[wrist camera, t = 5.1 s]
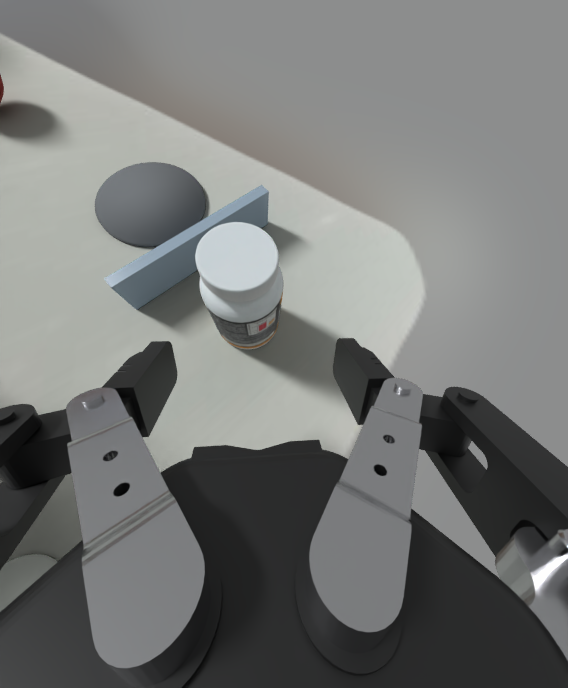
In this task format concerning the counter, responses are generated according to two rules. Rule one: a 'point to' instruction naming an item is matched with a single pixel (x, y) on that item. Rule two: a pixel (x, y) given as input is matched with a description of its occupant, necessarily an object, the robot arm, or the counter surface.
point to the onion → (1, 89)
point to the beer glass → (21, 575)
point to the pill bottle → (241, 283)
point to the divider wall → (182, 252)
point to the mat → (149, 203)
